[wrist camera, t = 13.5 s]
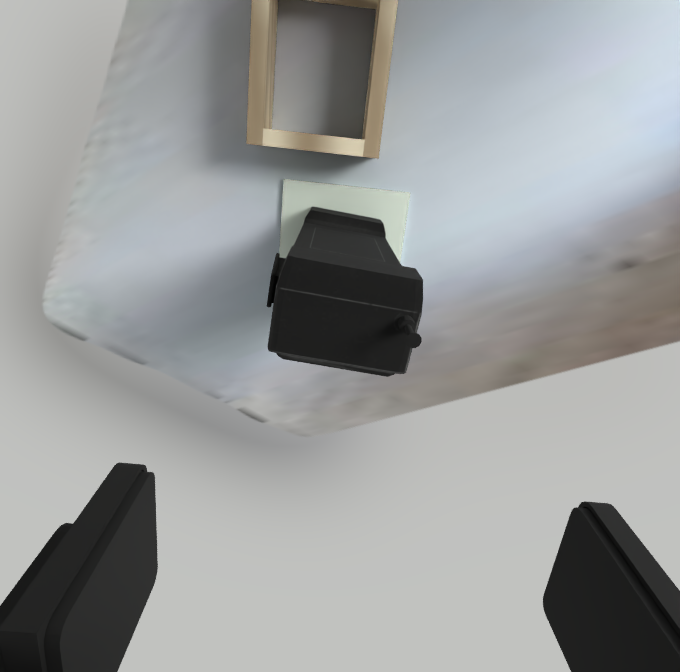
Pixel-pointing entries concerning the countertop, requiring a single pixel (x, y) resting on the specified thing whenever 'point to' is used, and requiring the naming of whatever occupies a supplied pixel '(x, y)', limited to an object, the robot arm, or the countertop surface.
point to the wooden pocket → (263, 83)
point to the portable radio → (344, 297)
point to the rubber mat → (342, 209)
